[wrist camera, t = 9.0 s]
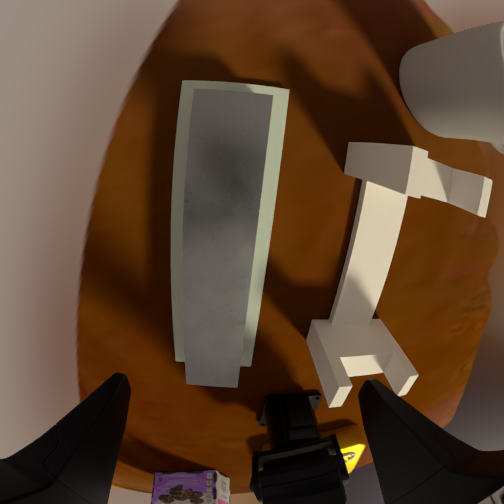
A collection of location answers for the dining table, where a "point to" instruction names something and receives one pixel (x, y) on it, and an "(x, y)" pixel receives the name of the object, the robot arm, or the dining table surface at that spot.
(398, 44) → the dining table surface
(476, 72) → the mug
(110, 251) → the dining table surface
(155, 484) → the candy box
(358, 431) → the element tile
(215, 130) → the rail
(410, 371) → the rack
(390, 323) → the dining table surface
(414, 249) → the dining table surface
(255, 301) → the mat
